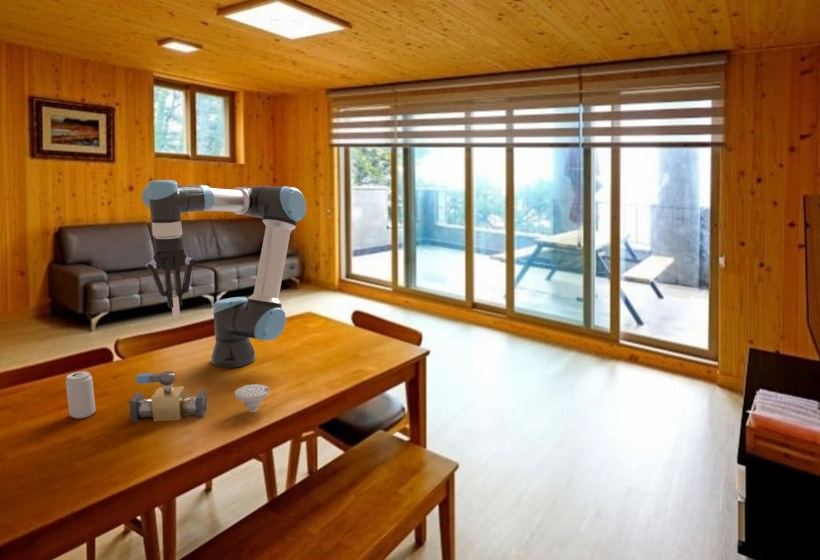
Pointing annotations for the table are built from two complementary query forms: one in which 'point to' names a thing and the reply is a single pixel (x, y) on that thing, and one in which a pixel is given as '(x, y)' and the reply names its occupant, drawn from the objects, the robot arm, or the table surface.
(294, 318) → the table surface
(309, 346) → the table surface
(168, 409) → the valve
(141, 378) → the lever
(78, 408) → the beverage can
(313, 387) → the table surface
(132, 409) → the pipe out
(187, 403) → the pipe in
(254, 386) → the showerhead
